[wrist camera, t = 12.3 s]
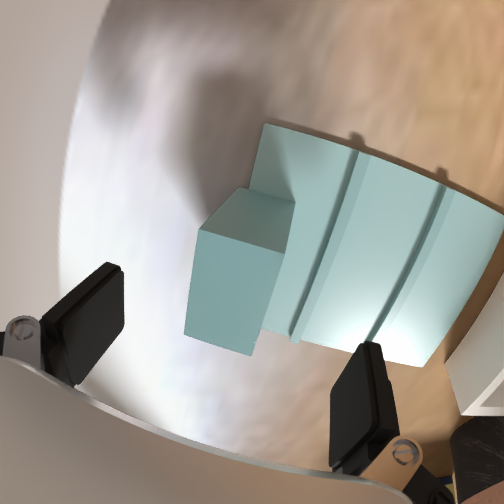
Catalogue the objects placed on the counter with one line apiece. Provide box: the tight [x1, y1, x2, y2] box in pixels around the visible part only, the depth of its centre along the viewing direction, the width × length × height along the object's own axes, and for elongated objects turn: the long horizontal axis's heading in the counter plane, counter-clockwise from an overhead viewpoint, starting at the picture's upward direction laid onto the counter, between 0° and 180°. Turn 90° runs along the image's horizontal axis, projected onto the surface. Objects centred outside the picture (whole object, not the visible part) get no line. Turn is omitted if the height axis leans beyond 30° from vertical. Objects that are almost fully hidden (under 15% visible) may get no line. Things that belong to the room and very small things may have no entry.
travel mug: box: [451, 416, 504, 504], centre depth 13 cm, size 8×8×20 cm
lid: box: [184, 123, 504, 367], centre depth 14 cm, size 12×16×7 cm
